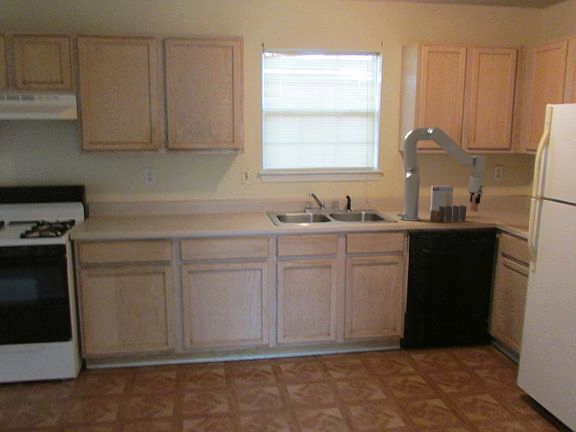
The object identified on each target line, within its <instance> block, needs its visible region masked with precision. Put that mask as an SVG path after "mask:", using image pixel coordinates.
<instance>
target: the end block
mask: <svg viewBox="0 0 576 432" xmlns="http://www.w3.org/2000/svg"><path fill="white" fill-rule="evenodd" d="M439 215H440V212H438V211H435V210H431V215H430V217H429V218H430V220H429V221H430V222H431V223H434V224H439V223H440V221H439Z"/></svg>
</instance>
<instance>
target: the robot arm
mask: <svg viewBox="0 0 576 432" xmlns="http://www.w3.org/2000/svg"><path fill="white" fill-rule="evenodd" d="M420 141H421V142H423V141H433V142H434V143H435V144H436V145H437V146H439V148H440V149H442V150H443V151H444V152H446V153H447V154H449V155H450V156H451V157H453V158H454V159H455V160H456V161H457V162H458V163H460V165H461V166H462V167H465V168H468V167H471V174H470V177H469V181H468V187H467V188H468V189H467V191H468V193H469V196H470V197H469V203H471V202H472V195H476V197H475V204H478V205H479V204H481V198H482V195H484V184H485V183H484V175H485V164H486V156H485V155H479V154H476V155H475V154H474V155H473V154H472V155H471V154H469V153H468V152H467V151H466V150H465V149H463V147H461V146H460V145H459V143H457V142H456V140H454V139H453V138H451V137H450V136H449V135H448V134H447V133H446V132H445V131H444V130H442V129H441V128H440V127H438V126H433V127H414V128H412V129H411V130H410V131H408V132H407V133H406V135H405V136H404V140H403V142H402V143H403V146H402V147H403V167H404V168H403V169H404V190H403V191H404V194H403V195H404V197H403V211H402V212H401V213H396V217H400V219H401V220H404V221H411V222H412V221H413V222H414V221H416V222H417V221H421V217H419V205H420V189H421V187H420V186H421V176H420V167H419V166H420V165H419V159H418V151H417V150H418V148H417V145H418V142H420Z"/></svg>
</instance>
